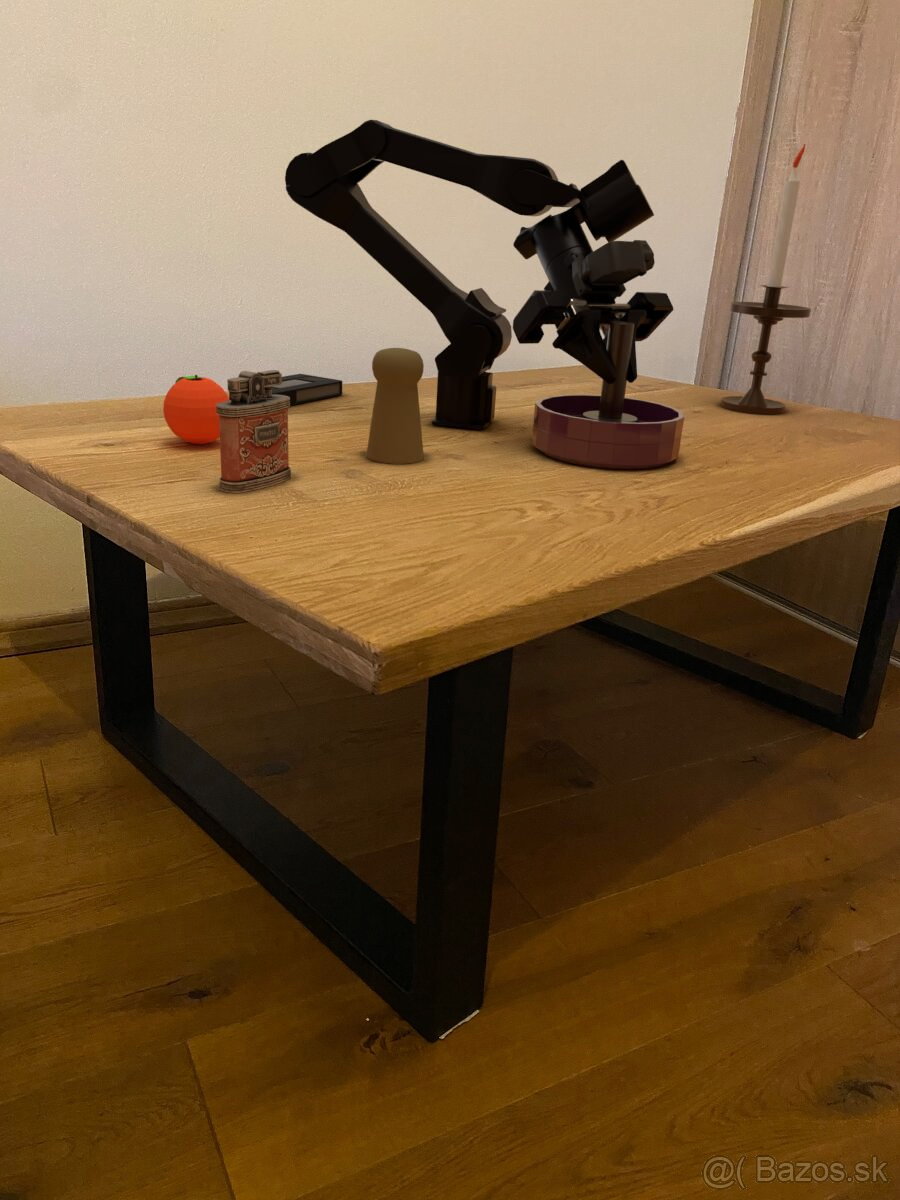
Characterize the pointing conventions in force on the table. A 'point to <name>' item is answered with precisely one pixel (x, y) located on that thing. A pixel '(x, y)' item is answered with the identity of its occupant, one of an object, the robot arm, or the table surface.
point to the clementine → (194, 409)
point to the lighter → (253, 433)
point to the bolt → (615, 392)
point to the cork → (396, 408)
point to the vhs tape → (307, 388)
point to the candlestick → (770, 307)
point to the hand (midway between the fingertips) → (623, 381)
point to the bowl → (607, 433)
